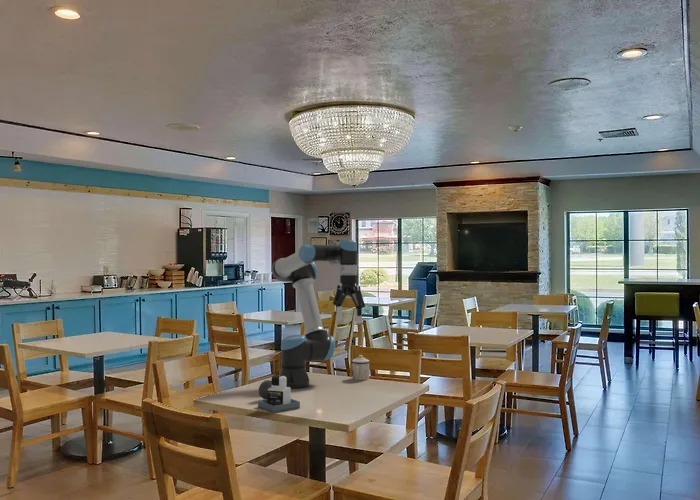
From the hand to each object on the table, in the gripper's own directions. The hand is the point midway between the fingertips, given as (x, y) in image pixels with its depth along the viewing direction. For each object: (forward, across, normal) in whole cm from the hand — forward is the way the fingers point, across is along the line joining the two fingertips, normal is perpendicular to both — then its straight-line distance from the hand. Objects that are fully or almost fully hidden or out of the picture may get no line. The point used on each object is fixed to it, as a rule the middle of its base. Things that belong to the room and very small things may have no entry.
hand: (348, 322), depth 271 cm
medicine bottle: (+31, +3, -38) cm, 49 cm away
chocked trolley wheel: (+32, -12, -33) cm, 47 cm away
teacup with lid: (+32, -22, +24) cm, 46 cm away
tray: (+32, +3, -38) cm, 50 cm away
